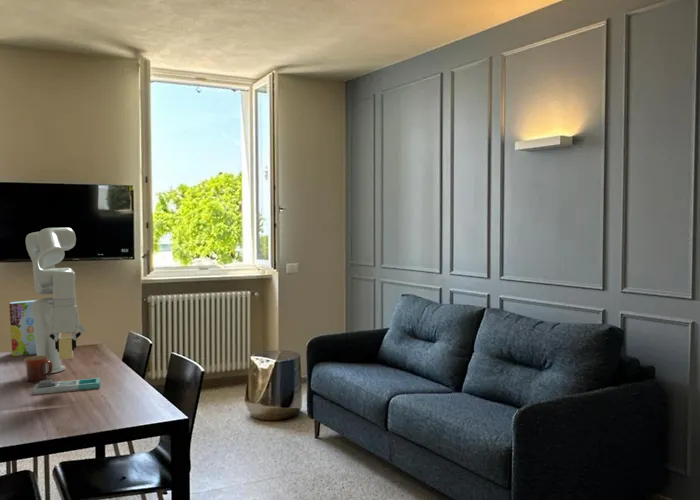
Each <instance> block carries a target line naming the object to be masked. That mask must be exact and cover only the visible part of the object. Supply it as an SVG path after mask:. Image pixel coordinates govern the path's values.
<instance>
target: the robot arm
mask: <svg viewBox="0 0 700 500" xmlns="http://www.w3.org/2000/svg"><path fill="white" fill-rule="evenodd" d="M76 242H77V237H76V233H75V231H74V230H73V229H72V228H71V227H47V228H43V229H41V230H40V231H35V232H31V233H28V234H27V235H26V237H25V246H26V247H25V248H26V251H27V253H28V256H29V257H30V260H31V262H32V274H33V285H34V290H35V293H37V294H38V295H52V296H51V297H41V298H37V299H35V300H36V301H34V303H33V305H32V311H33V316H34V321H35V331H36V353H37V354H36V356H48V360H50V361H51V362H52V364H53V369H52V372H51V373H50V374H54V373H55V374H56V373H60V372H62V371H65V370H66V365H63V364H62V359H59V338H60V335H61V334H62V335H63V334H71V337H72V350H73V352H74V351H75V349H77V339H78V338H79V337H80V336H81V335H82V334H84V333H85V332H86V330H87V329H86V328H85V327H84V326H83V325H82V323H81V322H80V315H79V314H80V313H79V308H78V305H77V294H76V293H77V292H76V284H75V282H76V277H77V276H76V272H75V271H74V270H73V269H72V268H70V267H56V266H55V265H57V264H59V263H60V262H62V261H63V260H64V258H65V255H66V254H65V251H70V250H71V249H73V248H74V247H75V246H76ZM46 367H47V373H48V371H49V364H48V363H47V364H46Z"/></svg>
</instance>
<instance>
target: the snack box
mask: <svg viewBox="0 0 700 500" xmlns="http://www.w3.org/2000/svg"><path fill="white" fill-rule="evenodd" d="M36 300H37V299H33V300H32V299H31V300H20V301H18V300H17V301H11V302H9V304H8V305H9V321H10V322H9V324H10V333H11V334H10V340H11V354H12V357H18V356H27V355H28V356H29V355H37V353H36V331H35V321H34V316H33V311H32V305H33V303H34V301H36ZM60 337H62V336H61V334H60Z"/></svg>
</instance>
